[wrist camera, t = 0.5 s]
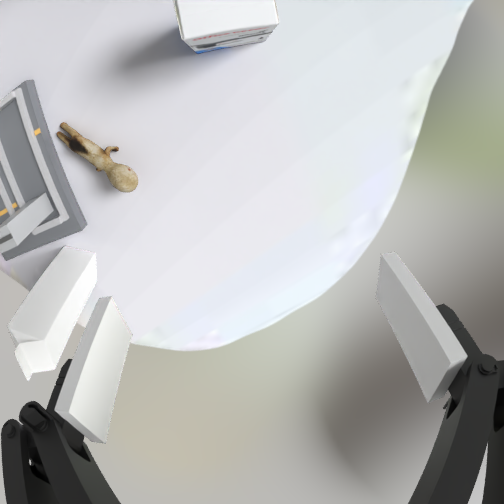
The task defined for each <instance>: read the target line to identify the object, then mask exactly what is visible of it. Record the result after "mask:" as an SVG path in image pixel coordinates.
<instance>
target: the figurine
mask: <svg viewBox="0 0 504 504" xmlns="http://www.w3.org/2000/svg"><path fill="white" fill-rule="evenodd" d="M60 127H61V128H63V129H64V130H65V131H66V132H68V133H69V134H70V135H71V139H70V138H68V137H67V136H66V135H64V134H63V133H61V132H57V136H58V137H59V138H60V139H61V140H62V141H63V142H64V143H65V144H66V145H67V146H68V147H69V148H70V149H71V150H72V151H74V152H76V153H77V154H79V155H80V156H82V157H83V158H85V159H86V160H88V161H89V162H90V163H92V164H93V165H94V166H95V167H96V170H97V171H98V172H99V171H101V170H104V171H105V172H106V174H107V176H108V178H109V180H110V182H111V183H112V185H113V186H114V187H115V188H116V189H118V190H119V191H121V192H132V191H133V190H135V188H136V187H137V185H138V177H137V175H136V173H135V172H134V171H133V170H132V169H131V168H130V167H128V166H126V165H122V164H117V163H114V162H113V161H112V159H111V158H110V156H109V155H110V151H111V150H113V151H118V150H119V148H118V147H111V146H109V147H107V148H106V149H105V151H104V150H103V149H102V148H100V147H99V146H98V145H96V144H95V143H93V142H92V141H90V140H88V139H86V138H84V137H82V136H81V135H80V134H79V133H78V132H77V131H76V130H74V129H73V128H71V127H70V126H68V125H67V124H66V123H64V122H63V123H61V125H60Z"/></svg>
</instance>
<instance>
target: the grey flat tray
mask: <svg viewBox="0 0 504 504" xmlns="http://www.w3.org/2000/svg"><path fill="white" fill-rule="evenodd" d="M45 192H46V194H47V197H48V199H49V201H50V203H51V205H52V208H53V210H54V211H53V212H52V213H51V214H50V215H48V216H47V217H46V218H45V219H44V220H43V221H42V222H41V223H40V224H39V225H38V226H37V227H36V228H35V229H34V230H33V231H32V232H31V233H30V234H29V235H28V236H27V237H26V238H25V239H24V240H23V241H22V242H21V243H20V244H19V245H18V246H16V247H14V248H12V249H10V250H8V251H6V252H3V253H2V255H3V257H4V259H5V260H6V261H7V260H9V259H12V258H14V257H16V256H19V255H21V254H23V253H26V252H28V251H31V250H33V249H35V248H38V247H40V246H43V245H45V244H48V243H50V242H53V241H56V240H58V239H61V238H63V237H66V236H69V235H71V234H74V233H77V232H79V231H82V230H83V229H84V228H85V226H86V225H87V222H86V220H85V218H84V216H83V214H82V212H81V210H80V207H79V205H78V203H77V201H76V198H75V196H74V194H73V192H72V189H71V187H70V185H69V182H68V180H67V177H66V175H65V173H64V170H63V168H62V165H61V163H60V160H59V157H58V155H57V152H56V149H55V147H54V144H53V141H52V138H51V136H50V133H49V130H48V127H47V124H46V121H45V118H44V114H43V111H42V108H41V105H40V101H39V98H38V95H37V91H36V87H35V84H34V80H27V81H24V82H23V83H22V84H20V85H19V86H18V87H16V88H15V89H14V90H13V91H11V92H10V93H9V94H8V95H6V96H5V97H4V98H3V99H1V100H0V225H1V224H2V223H3V222H4V221H5V220H6V219H8V218H9V217H10V216H11V215H12V214H14V213H15V212H16V211H17V210H18V209H20V208H21V207H22V206H23V205H25V204H26V203H27V202H28V201H30V200H32V199H34V198H36V197H38V196H40V195H42V194H43V193H45Z"/></svg>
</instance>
